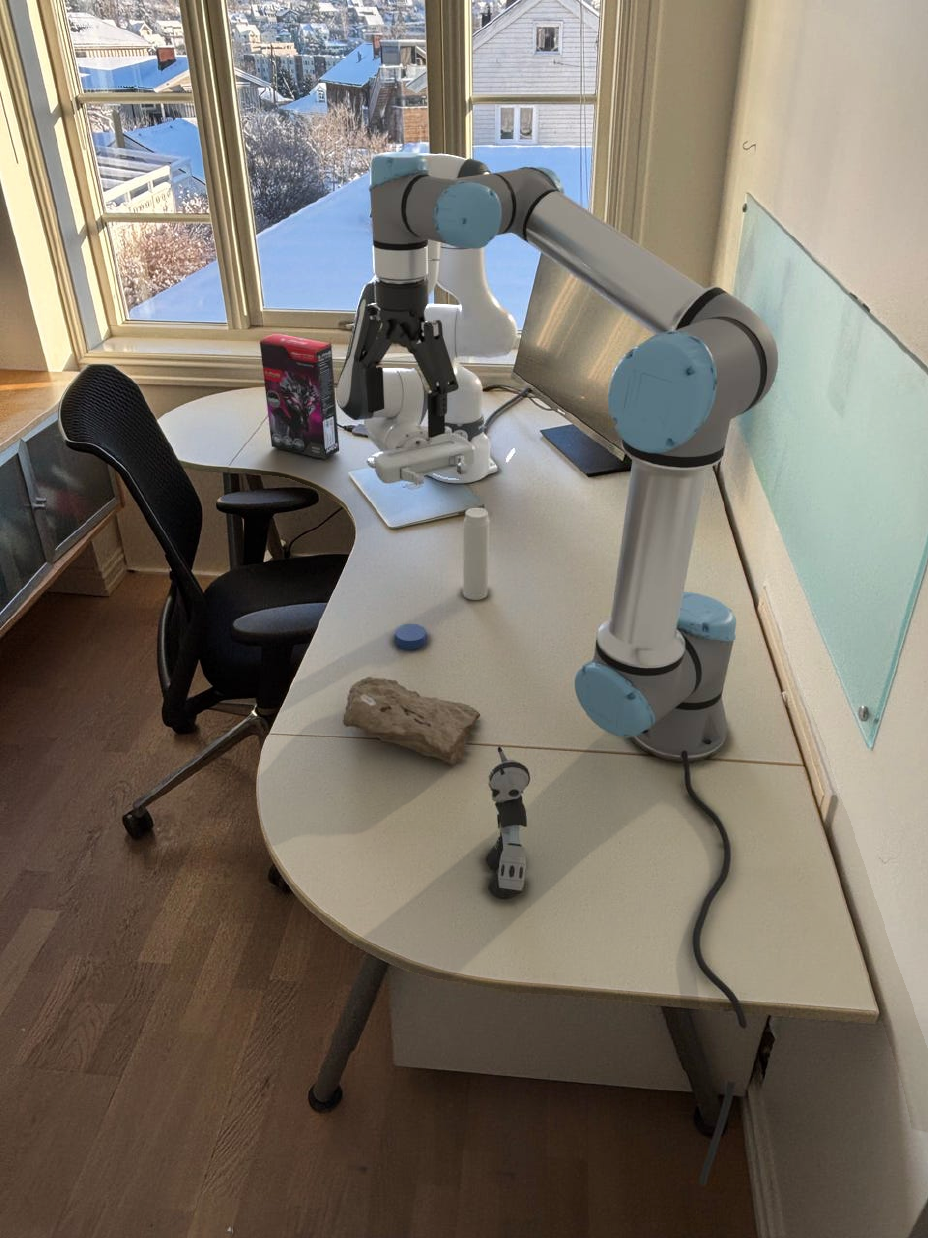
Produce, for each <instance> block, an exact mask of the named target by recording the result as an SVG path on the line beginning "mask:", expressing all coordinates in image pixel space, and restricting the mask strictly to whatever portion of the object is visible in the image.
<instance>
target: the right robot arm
mask: <svg viewBox="0 0 928 1238" xmlns="http://www.w3.org/2000/svg"><path fill="white" fill-rule="evenodd" d="M421 154H422V153H419V152H411V151H388V152H381V153H378V154H376V155H374V156H373V157H372V158H371V160H370V164H369V165H370V166H369V167H370V168H369V187H368V190H369V193H370V213H371V231H372V232H371V233H372V263H373V265H372V266H373V274H374V276H375V275H376V276H377V277H378V278H377V279H376V280H375V303H374V304H369V305H366V306H365V320H364V324H363V327H362V330H361V334H360V337H359V340H358V344H357V347H356V350H355V354H354V360H355V362H360V363H361V364H362V367H363V369H364V372H365V386H366V388H367V400H368V412H370V413H373V412H376V411H379V410H382V409H384V386H383V369H384V368H383V367H381V365H383V364H382V361H383V359H384V357H385V356H386V354H387V353H388V351H389V349H390V348H391V346H393V344H394V345H399V346H401V347H402V348H406V349H407V352H408V353H409V354H411V355H412V356H413V358H414V360H415V361H416V364H417V365H418V367H419V369H420V371H421V373H422V376H423V378H424V380H425V382H426V384H427V386H428V388H429V389H430V391H431V392H429V393H428V409H427V427H428V437H430V438H433V437H436V436H438V435H441V434H444V433H445V414H447V394H448V393H450V392H453V391H456V390H458V387H459V386H458V383H457V379H456V376H455V373H454V370H453V367H452V364H451V361H450V357H449V354H448V351H447V348H446V345H445V342H444V338H443V331H442V323H441V321H440V320H435V321H426V319H425V315H424V311H425V308H426V307H427V305H428V304H430V303H429V302H430V298H429V297H430V295H429V285H428V280H427V278H426V277H425V276H426V275H427V274H428V239H429V240H433V241H437V242H441V243H445V244H449V245H451V246H455V247H457V248H472V249H479V248H482V247H484V248H485V247H486V246H488V245H489V243H490V242H491V241H492V240H493V239H495V237H496V236H501V235H507V234H514V235H516V236H517V237H519V238H520V239H521V240H523V241H525V242H526V243H528V245H530V246H531V247H533V248H535V249H536V250H537V251H538V252H540V253H542V254H543V255H544V256H546V257H547V258H548V259H550V260H551V261H552V262H554V263H555V264H556V265H558V266H560V267H561V268H562V269H564V270H565V271H567V272H568V273H569V274H571V275H572V276H573V277H575V279H578V281H580V282H581V283H583V284H584V285H585V286H587V287H588V288H590V289H591V290H592V291H594V292H596V293H597V294H598V295H600V296H601V297H602V298H604V300H606V301H608V302H609V303H611V304H612V305H613V306H615V307H616V308H618V309H619V310H620V311H622V312H623V313H624V314H625V315H627V316H628V317H630V318H631V319H633V320H634V321H636V322H637V323H638V324H640V325H641V326H643V327H644V328H645V329H647V330H648V331H649V332H651V333H652V334H653V336H651V337H649V338H647V339H646V340H644V341H643V342H641V343H639V344H637V345H636V346H634V347H633V348H631V349H630V350H629V351H628V352H626V353H625V354H624V356H623V357H622V358H621V359H620V360H619V362H618V363H617V364H616V366H615V368H614V371H613V372H612V375H611V377H610V381H609V386H608V392H607V406H608V413H609V417H610V419H611V420H614V422H615V424H616V425H615V426H614V429H615V431H616V433H617V434H618V436H619V437H620V438H621V448H622V450H623V451H624V454H626V455H627V456H628V457H629V458H630V460H632V461H631V469H630V476H629V481H628V482H629V484H628V491H627V498H626V505H625V506H626V507H625V512H624V519H623V527H622V533H621V534H622V535H621V541H620V542H621V543H620V548H619V557H618V564H617V571H616V576H615V577H616V579H615V584H614V585H615V586H614V593H613V600H612V607H611V614H610V618H609V619H607V620H605V621H604V622H603V623H601V625H600V626H599V628H598V630H597V633H596V638H595V647H594V653H593V658H592V659H591V661H590V662H586V663H583V665H582V666H581V668H579V670H578V671H577V672H576V675H575V678H574V691H575V695H576V699H577V700H578V703H579V704H580V707H581V708H582V709H583V711H584V712H585V714H586V715H587V717H588V718H589V719H590V720H591V721H592V722H593V723H594V724H595V725H596V726H597V727H598V728H600V729H602V730H603V731H605V732H606V733H608V734H610V735H612V736H615V737H619V738H627V739H628V738H630V739H631V741H632V742H634V744H636V745H637V746H638V747H639V748H640V749H641V750H643V751H645V752H646V753H648V754H650V755H651V756H654V757H656V758H659V759H662V760H666V761H670V762H675V763H682V765H683V772H684V785H685V789H686V791H687V793H688V795H689V797H690V799H692V801H693V802H694V803H695V805H697V806H698V807H699V808H700V809H701V811H703V812H704V813H705V814H706V815H707V816H708V817H709V818H710V819H711V820H712V821H713V823H714V824H715V826H716V828H717V829H718V832H719V834H720V836H721V840H722V845H723V864H722V868H721V872H720V874H719V876H718V878H717V879H716V882H715V883H714V884H713V886H712V887H711V889H710V890H709V891H708V893H707V895H706V896H705V898H704V900H703V902H702V906H701V908H700V911H699V914H698V917H697V919H696V922H695V925H694V928H693V932H692V933H693V934H692V935H693V936H692V949H693V954H694V955H693V956H694V958H695V961H696V963H697V965H698V967H699V969H700V971H702V973H703V974H704V975H705V977H706V978H707V979H708V980H709V981H710V982H711V983H712V984H714V985H715V986H716V987H717V988H718V989H719V990H720V991H721V992H722V993H723V994H724V995H725V996H726V998H727V999H728V1000H729V1002H730V1003H731V1006H732V1007H733V1009H734V1010H735V1014H736V1017H737V1021H738V1024H739V1027H740V1028H742V1029H747V1027H748V1024H747V1017H746V1014H745V1012H744V1009H743V1005H742V1004H741V1002H740V1001H739V999H738V997H737V996H736V994H735V993H734V992H733V990H732V989H731V988H730V987H729V986H728V985H727V984H726V983H725V982H724V981H723V980H721V978H720V977H718V976H717V975H716V974H715V973H714V972H713V971H712V969H710V968H709V966H708V965H707V963H706V962H705V960H704V958H703V955H702V949H701V934H702V930H703V927H704V924H705V921H706V918H707V915H708V912H709V909H710V906H711V904H712V902H713V900H714V898H715V897H716V895H717V894H718V893H719V891H720V889H721V888H722V886H723V885H724V884H725V882H726V880H727V877H728V875H729V872H730V868H731V860H732V859H731V856H732V852H731V850H732V849H731V844H730V839H729V836H728V833H727V830H726V828H725V826H724V824H723V822H722V820H721V819H720V818H719V816H718V815H717V813H715V811H713V809H711V808H710V807H709V806H708V805H707V804H706V803H705V802H703V800H701V799H700V797H699V796H698V795H697V793H696V792H695V790H694V789H693V786H692V781H691V780H692V779H691V768H690V763H694V762H700V761H703V760H706V759H709V758H711V757H714V755H716V754H718V752H720V751H721V750H722V748H723V747H724V744H725V743H726V740H727V739H726V738H727V733H728V721H727V716H726V712H725V708H724V707H725V706H724V701H723V692H724V686H725V682H726V678H727V674H728V669H729V664H730V659H731V654H732V651H733V647H734V642H735V640H736V636H737V635H736V627H737V617H736V616H735V614H734V613H733V611H732V609H731V608H730V607H729V606H727V605H726V604H725V603H723V602H722V601H720V600H719V599H717V598H714V597H712V596H709V595H707V594H702V593H698V592H691V591H685V586H686V581H687V577H688V570H689V564H690V560H691V555H692V549H693V544H694V539H695V534H696V528H697V523H698V518H699V512H700V507H701V502H702V498H703V492H704V487H705V482H706V476H707V472H708V471H707V470H709V469H710V468H712V467H714V466H716V465H717V464H719V463H720V462H721V461H722V459H723V457H724V454H725V449H726V443H727V439H728V433H729V430H730V424H731V420H733V419H736V417H738V416H740V415H744V414H745V413H747V412H748V411H751V410H752V409H754V408H755V407H756V406H757V405H758V404H759V403H761V402H762V401H763V399H764V398H765V397H766V396H767V395H768V393H769V392H770V390H771V388H772V386H773V385H774V383H775V380H776V376H777V372H778V366H779V354H778V348H777V343H776V339H775V338H774V336H773V334H772V332H771V330H770V329H769V327H768V325H767V324H766V323H765V322H764V320H763V319H762V318H761V317H760V316H759V315H758V314H757V313H756V312H755V311H754V310H752V309H751V308H750V306H747V305H746V304H745V303H743V302H742V301H741V300H739V299H738V298H736V297H735V296H733V295H732V294H730V293H729V292H727V291H725V290H724V289H723V288H721V287H719V286H718V285H712V286H709V287H706V288H705V287H703V286H701V284H699V283H697V282H695V281H694V279H691V278H690V277H688V276H687V275H685V274H684V273H682V272H681V271H679V270H678V269H676V268H675V267H673V266H672V265H670V264H669V263H667V262H666V261H664V260H663V259H661V258H660V257H658V256H657V255H655V254H654V253H652V252H651V251H649V250H648V249H647V248H645V247H643V246H642V245H640V244H639V243H637V242H636V241H634V240H633V239H631V238H630V237H629V236H627V235H625V234H624V233H623V232H621V231H619V230H618V229H616V228H615V227H613V226H612V225H610V223H608V222H606V221H604V220H603V219H602V218H600V217H599V216H597V215H596V214H594V213H592V212H591V211H590V210H588V209H587V208H585V207H584V206H582V205H581V204H579V203H578V202H576V201H574V200H573V199H571V198H570V197H569V196H567V195H566V194H565V188H564V186H563V183H562V182H561V181H560V179H559V176H558V174H557V173H555V171H553V170H552V169H550V168H547V167H545V166H544V167H543V166H537V167H535V166H522V167H520V168H516V169H511V170H505V171H499V172H493V173H492V172H491V174H484V175H477V176H470V177H463V178H456V179H449V178H441V177H434V176H430V175H428V172H429V171H428V169H427V161H426V158H425V157H424V156H423V155H421ZM381 323H382V325H381ZM380 326H381V327H380ZM419 340H420V341H421V343H418V341H419ZM417 343H418V344H417ZM448 382H449V383H448ZM437 383H438V384H439V385H438V386H437ZM735 1087H736V1083H735V1082H731V1081H727V1084H726V1089H725V1092H724V1098H723V1101H722V1105H721V1108H720V1113H719V1116H718V1120H717V1123H716V1126H715V1129H714V1133H713V1135H712V1138H711V1141H710V1144H709V1148H708V1150H707V1152H706V1153H707V1154H706V1157H705V1160H704V1163H703V1166H702V1169H701V1173H700V1176H699V1180H698V1183H699V1185H700V1186H701V1187H704V1186H706V1184H707V1180H708V1177H709V1174H710V1170H711V1167H712V1164H713V1161H714V1157H715V1155H716V1153H717V1152H716V1151H717V1149H718V1146H719V1142H720V1141H721V1138H722V1135H723V1131H724V1128H725V1126H726V1123H727V1119H728V1115H729V1111H730V1108H731V1104H732V1101H733V1096H734V1091H735Z"/></svg>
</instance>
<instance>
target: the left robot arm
mask: <svg viewBox="0 0 928 1238" xmlns="http://www.w3.org/2000/svg"><path fill="white" fill-rule="evenodd" d="M420 154H421V155H423V156H424V157H425V158H426V161H427V169H428V171H429V172H428V175H430V176H434V177H441V178H449V179H456V178H463V177H470V176H477V175H484V174H492V172H491V170H490V169H489V167H488V164H486V163H484V162H482V161H481V160H477V159H474V158H467V159H466V158H465V157H464V158H463V157H460V156H457V155H451V154H444V153H437V154H435V153H420ZM485 257H486V256H485V247H482V248H479V249H472V248H457V247H455V246H451V245H449V244H445V243H441V242H437V241H433V240H429V239H428V274H427V275H426V276H425V277H426V278H427V280H428V285H429V296H430V295H431V294H432V293H433V291H435V288H436V286H438V287H440V289H442V290H443V291H445V292H447V293H449V294H450V295H452V296H453V297H454V298H455V299H456V300H457V301H458V303H459V304H445V303H444V304H441V303H428V305H427V307H426V308H425V311H424V315H425V319H426V321H435V320H440V321H441V323H442V331H443V338H444V342H445V345H446V348H447V351H448V354H449V357H450V361H451V364H452V367H453V370H454V373H455V376H456V379H457V383H458V386H459V387H458V390H456V391H453V392H450V393H448V394H447V414H445V433H444V434H441V435H438V436H436V437H433V438H430V437H428V425H422V423H423V422H424V419H425V417H426V415H427V413H428V393H430V391H429V386H428V383H427V381H426V379H425V378H424V376H423V375H422V374H421V373H420V372H419V371H418V369H417V370H416V369H415V368H406V367H405V368H402V367H400V368H399V367H391V368H383V386H384V409H382V410H379V411H376V412H373V413H370V412H368V400H367V388H366V386H365V372H364V369H363V367H362V364H361V363H360V362H355V360H354V354H355V350H356V347H357V344H358V340H359V337H360V334H361V330H362V327H363V324H364V320H365V306H366V305H369V304H374V303H375V280H376V279H377V278H378V277H377V276H376V275H375V274H374V277H373V278H372V280H371V281H369V282H367V283H366V284H365V285H364V286H363V289H362V291H361V293H360V295H359V300H358V304H357V307H356V311H355V315H354V320H353V324H352V329H351V334H350V338H349V341H348V348H347V350H346V355H345V360H344V363H343V367H342V369H341V372H340V375H339V377H338V380H337V384H336V390H335V399H336V404H337V406H338V407H339V409H340V410H341V411H342V412H343V413H344V414H345V415H346V416H347V417H349V418H350V419H351V420H353V421H362V420H363V426H364V430H365V432H366V435H367V437H368V439H369V440H370V441H371V443H372V444H373V445H374V446H375V447H376V448H377V449H378V450H379V452H377V453H375V454H374V455H371V456H370V458H368V459H366V464H367V465H368V466H369V467H370V468H372V469H374V472H375V475H376V476H377V478H378V479H379V480H380V482H381V483H383V484H388V485H389V484H394V483H398V482H402V481H404V482H409V483H413V484H414V485H415V486H420V485H423V484H424V483H425V481H424V480H425V477H424V476H428V477H431V478H433V479H434V480H437V481H440V482H444V483H449V484H468V483H474V482H477V481H480V480H482V479H483V478H485V477H486V476H488V475H490V474H495V473H496V472H498V466H497V465H496V463H495V461H494V460H493V459H492V457H491V440H490V438H489V437H488V434H487V433H488V430H487V428H488V426H489V424H490V423H491V421H492V420H494V417H496V416H497V415H498V414H499V413H500V412H501V411H503V410H504V409H506V408H507V407H508V406H510V405H511V404H513V403H514V402H516V401H517V400H519V399H520V398H522V397H523V396H524V395H525V394H526V393H528V392H529V391H530V389H529V388H527V386H525V388H524V389H523V390H522V391H521V392H519V393H518V394H517V395H515V396H514V397H513V398H511V399H509V400H508V401H506V402H504V404H502V405H501V406H499V407H498V408H497V409H495V410H494V411H493V412H492V413H491V414H490V415H489V416H488V418H486V420H485V416H484V414H483V384H482V381H481V380H480V378H479V377H478V376H477V375H476V374H475V373H474V372H472V371H470V370H468V369H467V368H465V367H464V366H462V365H461V363H460V362H459V361H458V358H464V359H465V358H467V359H486V360H487V359H495V358H500V357H505V356H507V355H508V354H510V353H511V351H512V350H513V349H514V347H515V345H516V343H517V339H518V325H517V322H516V320H515V317H514V316H513V315H512V313H511V312H510V311H509V310H508V309H507V308H505V307H504V306H503V305H502V304H501V303H500V302H499V301H498V300H497V298H496V297H495V296H494V294H493V292H492V290H491V288H490V286H489V282H488V279H487V273H486V272H487V271H486V261H485V260H486V258H485ZM380 328H382V323H381V326H380ZM418 343H421V341H420V340H419V341H418ZM418 343H417V344H418ZM448 383H449V382H448ZM438 385H439V384H438V383H437V386H438ZM515 452H516V450H515V448H513V449H512V450H511V451H510V453H509V454H508V455H507V457H506V461H505V462H506V463H508V462H509V460H510V459H511V458H512V457H513V455H514V453H515ZM433 473H435V474H437V475H440V476H443V477H448V478H456V479H459V480H448V479H443V478H440V477H437V476H435V475H433Z"/></svg>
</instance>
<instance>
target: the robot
mask: <svg viewBox="0 0 928 1238" xmlns="http://www.w3.org/2000/svg"><path fill="white" fill-rule="evenodd" d="M497 752H498V755H499V758H500V762H499V763H498V764H497V765H496V766H494V767H493V769H491V772H490V773H489V775H488V788H489V790H490V791H491V800H492V801H493V802H494V806H495V808H496V810H497V812H498V814H496V820H497V828H498V829H499V836H498V838H497V840H496V842H495V844H494V845H493V846H492V848H491V850H490V851H489V852H488V854H487V855H486V857H485V861H486V863H487V865H488V867H489V868H490V869H491V870H493V871H495V872H493V874H492V876H491V878H490V880H489V883H488V886H487V890H488V891H490V893H491V894H492V895H493V896H494V897H495V898H500V899H509V898H512V897H514V896H516V895H518V894H520V893H522V891H523V888H524V884H525V878H526V877H525V876H526V869H527V856H526V851H525V847H524V846H523V845H522V844H521V840H520V826H521V827H523V828H527V827H528V820H527V810H526V807H525V804H524V803H523V796H522V794H524V791H525V789H526V788H528V786H529V785H530V781H531V775H530V771H529V769H528V767H527V766H526V765H524V764H522V763H521V762H520V761H517V760H515V759H507V756H506V755H505V753H504V751H503V749H502V747H501V746H498V747H497Z"/></svg>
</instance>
